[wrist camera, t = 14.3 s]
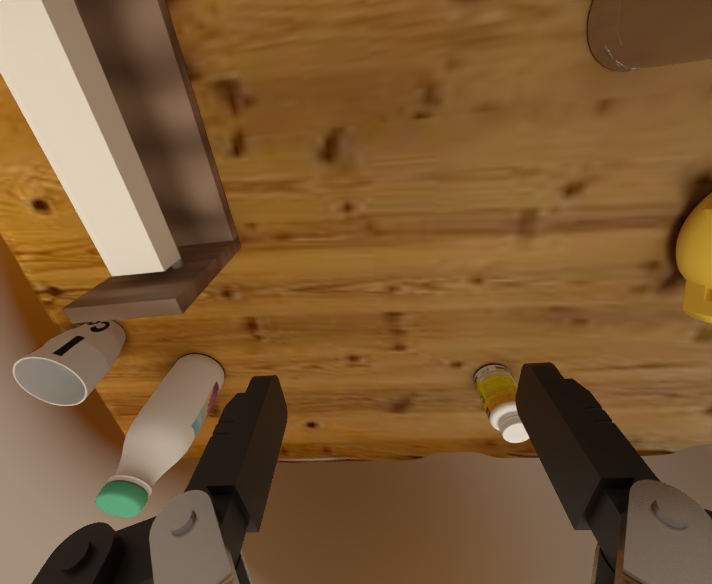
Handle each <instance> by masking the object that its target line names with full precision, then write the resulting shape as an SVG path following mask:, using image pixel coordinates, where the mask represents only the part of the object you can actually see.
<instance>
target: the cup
mask: <svg viewBox="0 0 712 584" xmlns="http://www.w3.org/2000/svg"><path fill="white" fill-rule="evenodd" d="M125 340H126V334H125V332H124V330H123V329H122V327H121V326H120V325H118V324H117V323H115V322H114V321H112V320H106V321H95V322H86V323H83V324H80V325H78V326H75V327H74V328H72V329H70V330H68V331H66V332H64V333H62V334H60V335H58V336H56V337H54V338H52V339H51V340H49V341H48V342H46V343H44V344H43V345H41V346H40V347H38V348H37V349H35V350H34V351H32V352H31V353H29V354H28V355H26V356H24V357H23V358H21V359H20V360H18V361H17V362H16V363H15V365H14V366H13V375H14V378H15V379H16V381H17V382H18V384H19V385H20V386H21V387H22V388H23V389H24V390H25V391H27V392H28V393H29V394H31V395H33V396H34V397H36V398H38V399H40V400H42V401H45V402H47V403H51V404H54V405H60V406H72V405H77V404H79V403H81V402H83V401H84V399H85V398H86V397H87V396H88V395H89V394H90V393H91V391H92V390H93V389H94V388H95V387H96V385H97V384H98V383H99V382H100V381H101V380H102V378H103V377H104V376H105V375H106V373H107V372H108V370H109V369H110V367H111V366H112V364H113V363H114V361H115V360H116V358H117V357H118V355H119V354H120V351H121V349H122V347H123V345H124V342H125Z"/></svg>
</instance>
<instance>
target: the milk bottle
mask: <svg viewBox="0 0 712 584" xmlns="http://www.w3.org/2000/svg"><path fill="white" fill-rule="evenodd" d="M223 382H224V371H223V369H222V367H221V366H220V365H219V363H217V362H216V361H215V360H213V359H212V358H210V357H207V356H204V355H200V354H190V355H186V356H184V357H182V358H180V359H179V360H178V361H177V362H176V363H175V365H174V366H173V367H172V369H171V370H170V371H169V373H168V374H167V375H166V377H165V378H164V379H163V381H162V382H161V383H160V385H159V386H158V388H157V389H156V390H155V392H154V393H153V394H152V396H151V397H150V398H149V400H148V401H147V403H146V404H145V405H144V407H143V408H142V410H141V411H140V412H139V414H138V415H137V417H136V418H135V420H134V421H133V423H132V425H131V427H130V428H129V430H128V433H127V435H126V439H125V442H124V446H123V453H122V457H121V461H120V464H119V467H118V469H117V471H116V474H115V475H114V476H113V477H111V478H109V479H108V481H107V484H106V485H105V486H104V487H103V488H102V490H101V491H100V493H99V494H98V496H97V498H96V501H95V502H96V505H97V507H98V508H99V509H100V510H102V511H103V512H105V513H107V514H110V515H113V516H117V517H133V516H136V515H138V514H139V513H140V512H141V510H142V509H143V507H144V506H145V504H146V502H147V500H148V497H149V496H150V494H151V492H152V491H151V488H152V486H153V485H154V484H155V482H156V481H157V480H158V479H159V478H160V476H162V475H163V474H164V473H165V472H166V471H167V470H168V469H169V468H170V467H172V466H173V465H174V464H175V463H176V462H177V461H179V459H180V458H181V457H182V456H183V455H184V454H185V453H186V451H187V450H188V449H189V447H190V446H191V444H192V442H193V441H194V439H195V437H196V435H197V433H198V432H199V430H200V428H201V426H202V424H203V422H204V420H205V418H206V416H207V414H208V412H209V410H210V408H211V406H212V404H213V403H214V401H215V399H216V397H217V395H218V393H219V391H220V389H221V387H222V384H223Z"/></svg>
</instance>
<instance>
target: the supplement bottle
mask: <svg viewBox="0 0 712 584" xmlns="http://www.w3.org/2000/svg"><path fill="white" fill-rule="evenodd" d="M474 384H475V387H476V389H477V391H478V394H479V396H480V399H481V401H482V404H483V406H484V409H485V411H486V413H487V416H488V418H489V421H490V423H491V425H492V426H493V427H494V428H495V429H497V430H499V431H500V432H501V434H502V436H503V438H504V439H505V440H506V441H508V442H512V443H519V442H523V441H525V440H527V439H529V436H528V434H527V432H526V430H525V428H524V426H523V424H522V422H521V420H520V418H519V415H518V412H517V409H516V402H515V398H516V392H517V388H518V386H517V384H516V383H515V381H514V379H513V377H512V376H511V374H510V372H509V371H508V370H507V369H506V368H505V367H503V366H500V365H488V366H485V367H483V368H481V369H480V370H479V371H478V372H477V373H476V375H475V377H474Z"/></svg>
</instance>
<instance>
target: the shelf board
mask: <svg viewBox="0 0 712 584" xmlns="http://www.w3.org/2000/svg"><path fill="white" fill-rule="evenodd" d="M0 73H1V75H2V77H3V78H4V80H5V82H6V84H7V86H8V87H9V89H10V91H11V93H12V95H13V97H14V98H15V100H16V102H17V104H18V106H19V108H20V109H21V111H22V113H23V115H24V117H25V118H26V120H27V122H28V124H29V126H30V128H31V129H32V131H33V133H34V135H35V137H36V139H37V140H38V142H39V144H40V146H41V148H42V149H43V151H44V153H45V155H46V157H47V159H48V160H49V162H50V164H51V166H52V168H53V170H54V171H55V173H56V175H57V177H58V179H59V180H60V182H61V184H62V186H63V188H64V190H65V191H66V193H67V195H68V197H69V199H70V201H71V202H72V204H73V206H74V208H75V210H76V211H77V213H78V215H79V217H80V219H81V221H82V222H83V224H84V226H85V228H86V230H87V232H88V233H89V235H90V237H91V239H92V241H93V242H94V244H95V246H96V248H97V250H98V252H99V253H100V255H101V257H102V259H103V261H104V263H105V264H106V266H107V268H108V270H109V272H110V273H111V275H112V276H121V275H131V274H142V273H152V272H162V271H165V270H167V269H168V268H169V267H170V266H171V265H173V264H174V263H175V262H176V261H178V260H179V259H180V258H181V257H180V255H179V252H178V250H177V248H176V245H175V243H174V240H173V238H172V236H171V233H170V231H169V228H168V226H167V224H166V221H165V219H164V216H163V214H162V212H161V209H160V207H159V204H158V202H157V199H156V197H155V195H154V192H153V190H152V187H151V185H150V183H149V180H148V178H147V175H146V173H145V171H144V168H143V166H142V163H141V161H140V159H139V156H138V154H137V151H136V149H135V147H134V144H133V142H132V139H131V137H130V135H129V132H128V130H127V127H126V125H125V123H124V120H123V118H122V115H121V113H120V110H119V108H118V106H117V103H116V101H115V98H114V96H113V94H112V91H111V89H110V86H109V84H108V82H107V79H106V77H105V74H104V72H103V70H102V67H101V65H100V62H99V60H98V58H97V55H96V53H95V50H94V48H93V46H92V43H91V41H90V38H89V36H88V33H87V31H86V29H85V26H84V24H83V21H82V19H81V17H80V14H79V12H78V9H77V7H76V5H75V2H74V0H0Z"/></svg>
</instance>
